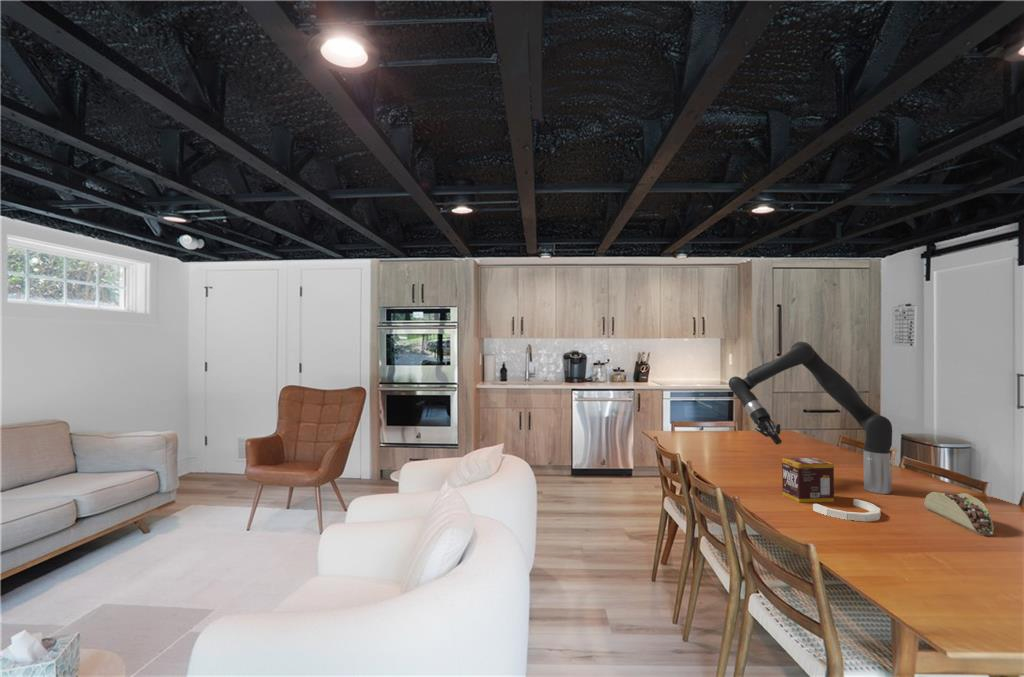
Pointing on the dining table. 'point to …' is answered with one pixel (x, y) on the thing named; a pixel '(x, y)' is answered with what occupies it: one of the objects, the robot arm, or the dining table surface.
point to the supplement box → (808, 479)
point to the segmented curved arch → (867, 516)
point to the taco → (962, 511)
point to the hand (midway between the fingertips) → (779, 443)
